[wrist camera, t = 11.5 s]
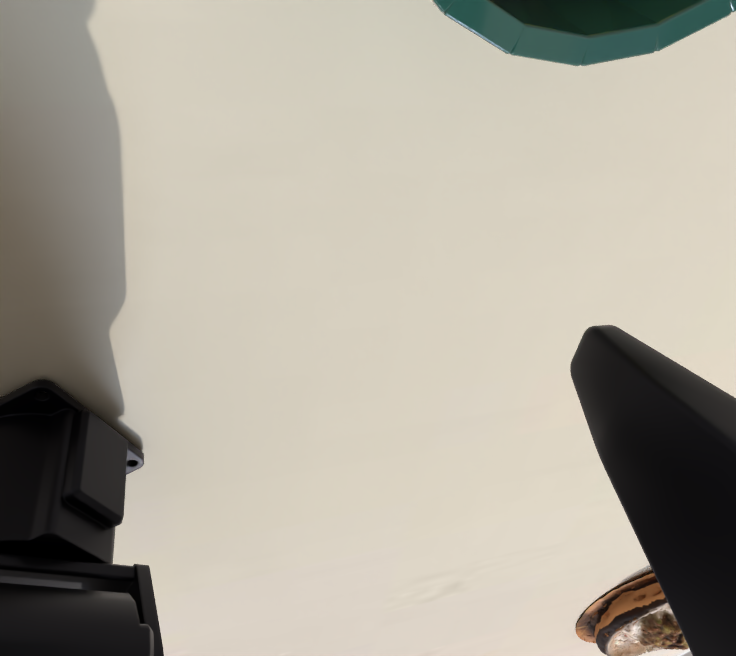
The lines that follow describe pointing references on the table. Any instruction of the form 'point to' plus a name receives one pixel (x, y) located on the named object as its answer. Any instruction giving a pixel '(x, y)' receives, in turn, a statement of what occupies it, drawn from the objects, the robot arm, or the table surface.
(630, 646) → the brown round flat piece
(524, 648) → the table surface
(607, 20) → the cup
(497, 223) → the table surface
